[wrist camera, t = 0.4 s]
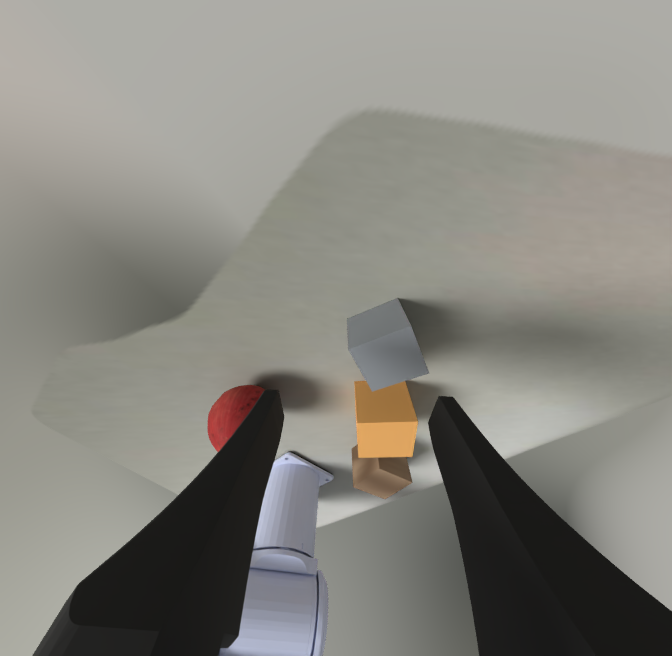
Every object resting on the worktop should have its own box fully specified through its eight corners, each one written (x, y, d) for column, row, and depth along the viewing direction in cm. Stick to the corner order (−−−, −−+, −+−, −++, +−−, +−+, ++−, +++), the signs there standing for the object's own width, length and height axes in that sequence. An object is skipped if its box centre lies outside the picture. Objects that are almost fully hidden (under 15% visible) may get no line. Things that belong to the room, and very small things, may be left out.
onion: (264, 359, 23) (231, 434, 16) (295, 398, 25) (277, 476, 19) (216, 377, 24) (167, 454, 17) (250, 413, 27) (219, 491, 20)
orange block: (355, 414, 27) (358, 457, 22) (354, 380, 24) (357, 423, 20) (400, 412, 26) (412, 456, 22) (404, 379, 24) (418, 421, 20)
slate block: (366, 356, 23) (372, 391, 19) (347, 318, 21) (348, 349, 17) (413, 339, 21) (429, 373, 18) (397, 297, 19) (411, 325, 16)
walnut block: (379, 460, 31) (385, 499, 27) (351, 448, 30) (353, 487, 26) (403, 443, 29) (412, 482, 25) (374, 429, 28) (379, 468, 24)
